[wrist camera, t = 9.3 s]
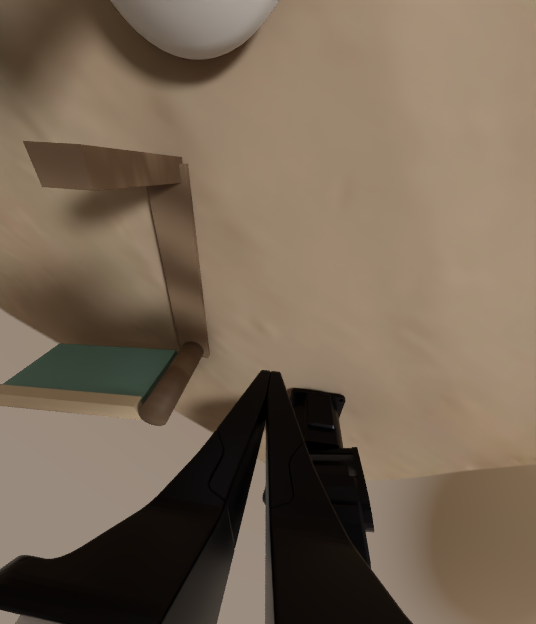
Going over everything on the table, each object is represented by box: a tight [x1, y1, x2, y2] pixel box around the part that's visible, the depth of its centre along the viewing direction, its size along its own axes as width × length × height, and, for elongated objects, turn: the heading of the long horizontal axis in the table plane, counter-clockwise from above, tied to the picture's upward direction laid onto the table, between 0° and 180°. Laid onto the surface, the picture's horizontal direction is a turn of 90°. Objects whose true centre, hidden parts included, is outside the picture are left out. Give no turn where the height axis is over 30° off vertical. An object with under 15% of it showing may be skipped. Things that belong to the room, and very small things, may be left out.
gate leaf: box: [0, 344, 177, 420], centre depth 23 cm, size 15×2×7 cm, turn 92°
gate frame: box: [23, 141, 210, 426], centre depth 18 cm, size 19×3×9 cm, turn 177°
